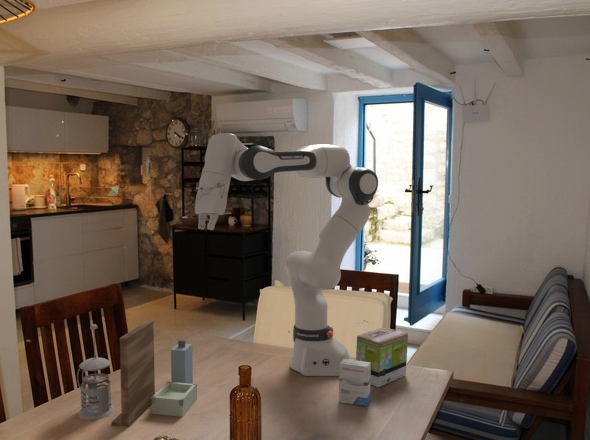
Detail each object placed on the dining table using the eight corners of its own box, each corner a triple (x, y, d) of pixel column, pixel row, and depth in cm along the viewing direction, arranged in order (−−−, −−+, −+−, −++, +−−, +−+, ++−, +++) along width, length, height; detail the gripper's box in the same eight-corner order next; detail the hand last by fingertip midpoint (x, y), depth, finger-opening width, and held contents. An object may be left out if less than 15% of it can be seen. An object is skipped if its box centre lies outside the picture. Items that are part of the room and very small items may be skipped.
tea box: (379, 388, 173) (380, 342, 171) (354, 379, 180) (355, 335, 178) (407, 376, 183) (408, 332, 182) (382, 367, 190) (383, 325, 189)
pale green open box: (196, 399, 164) (196, 384, 163) (182, 416, 153) (182, 400, 152) (167, 397, 165) (167, 381, 165) (151, 413, 154) (151, 397, 154)
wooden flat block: (154, 401, 162) (153, 321, 160) (129, 427, 147) (126, 338, 144) (138, 400, 163) (137, 320, 160) (111, 425, 147) (108, 337, 145)
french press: (93, 423, 149) (90, 332, 146) (65, 412, 155) (62, 324, 152) (122, 409, 157) (120, 322, 154) (95, 399, 163) (92, 316, 160)
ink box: (370, 400, 165) (371, 361, 163) (367, 407, 160) (368, 367, 159) (342, 395, 167) (343, 357, 166) (338, 402, 163) (339, 363, 162)
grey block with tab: (192, 384, 175) (192, 337, 173) (185, 392, 169) (185, 344, 167) (179, 383, 176) (178, 336, 174) (171, 390, 170) (170, 343, 168)
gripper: (235, 184, 161) (226, 232, 160) (214, 188, 179) (205, 230, 178) (215, 179, 158) (205, 227, 157) (195, 183, 177) (186, 226, 175)
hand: (205, 229), depth 168 cm, fingers open, 8 cm apart
